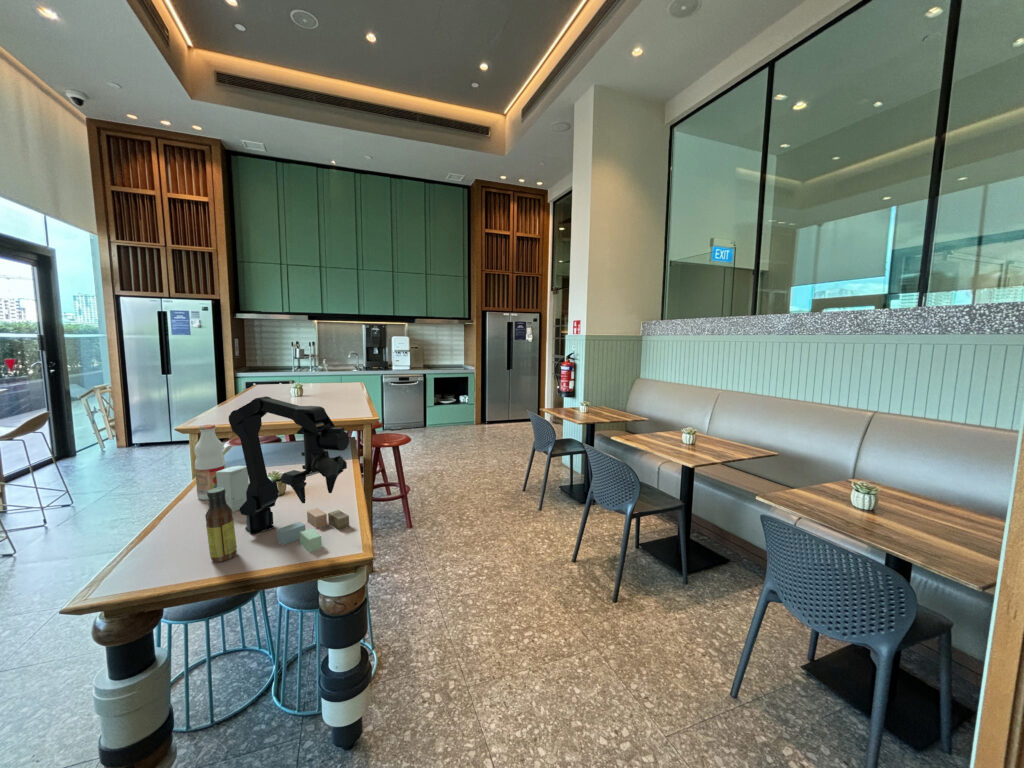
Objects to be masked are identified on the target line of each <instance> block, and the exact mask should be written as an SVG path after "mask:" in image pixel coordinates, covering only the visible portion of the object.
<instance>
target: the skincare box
mask: <svg viewBox="0 0 1024 768" xmlns="http://www.w3.org/2000/svg"><path fill="white" fill-rule="evenodd" d="M216 476H217V488H225V492H226V493H225V500H226V503H227V505H228V506H229V507H230V508H231V509H232V514H233V513H235V512H237V511H240V507H241V506H242V505H243V504H244V503H245V502H246V501H247V497H246V491H247V488H248V486H249V483H250V481H249V476H248V472H247V467H246V465H233V466H229V467H225V469H223V470H220V471H217V472H216Z"/></svg>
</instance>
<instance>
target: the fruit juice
mask: <svg viewBox="0 0 1024 768" xmlns="http://www.w3.org/2000/svg"><path fill="white" fill-rule="evenodd" d="M215 430H216V425H215V424H203V425H200V426H199V431H200V437H199V440H198V442H197V443H196V444H195V445H194V449H193V450H194V452H193V453H194V454H195V456H196V458H195V461H194V469H195V481H196V483H195V484H196V496H197V498H198V500H201V501H209V498H208V496H207V492H208V491H209V490H211V489H214V488H217V476H216V472H217V471H220V470H223V469H226V459H225V455H223V453H224V452H223V451H224V449H225V448H224V444H223V442H222V441H221V440H220V439H219V438H218V435H217V433H216V431H215Z"/></svg>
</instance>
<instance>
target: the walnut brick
mask: <svg viewBox="0 0 1024 768" xmlns="http://www.w3.org/2000/svg"><path fill="white" fill-rule="evenodd" d="M327 517H328V518H327V519H328V521H327V522H328V525H329V526H330V527H332V528H334V529H336V530H337V531H342V530H345V529H348V528H349V527H350V515H349V514H347V513H345V512H343V511H342V510H340V509H337V510H334V511H331V512H328V513H327Z"/></svg>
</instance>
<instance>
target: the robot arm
mask: <svg viewBox="0 0 1024 768" xmlns="http://www.w3.org/2000/svg"><path fill="white" fill-rule="evenodd" d="M267 413H268V414H272V415H276V416H279V417H282V418H284V419H285V418H286V419H290V420H292V421H293V422H294V424H296V425H297V426H299V427H301V428H299V430H297V431H296V434H297V435H302V436H303V437H302V438H303V451H302V452H301V456H302V457H304V464H303V465H302V470H303V471H301V470H297V469H296V470H295V469H293V470H289V471H287V472H283V473H282V474H281V477H280V481H281V484H285V485H287V486H290V487H291V488H292V489H293V491H294V493H295V494H296V496H297V497H298V499H299V501H300V502H301V504H305V503H306V488H305V487H306V486H307V482H305V481H306V479H307V477H311V476H314V475H317V474H320V475H321V476H322V477H324V478H325V484H326V489H327V492H328V494H332V493H333V490H334V487H335V484H336V480H337V478H338V476H339V475H340V474H342V473H343V472H344V470H346V469H348V465H347V461H346V460H345V459H344V457H343V456H341V455H337V456H333V457H330V453H329V451H342V452H343V451H345V450H346V449H348V446H349V444H350V436H349V434H348V433H347V431H345V427H343V426H341V427H336V425H335V423H334V422H333V421H332V419H331V418H330V416H329V415H328V413H327V411H326V409H325V408H324V407H323V406H319V405H318V406H317V405H297V404H294V403H290V402H286V401H283V400H279V399H275V398H272V397H270V396H261V397H256V398H254V399H252V400H250V402H249V403H246V404H244V405H243V406H241V407H239V408H238V409H234V410H232V411H231V412H230V413H229V415H228V423H229V426H230V428H231V430H232V432H233V433H234V434H235V435H236V436H237V437H238V438H239V440H240V445H241V448H242V454H243V458H244V463H245V466H246V467H247V472H248V479H249V486H248V488H247V491H246V497H247V501H246V502H245V503H244V504H243V505H242V506H241V507H240V509H239V511H240V514H241V515H242V516H245V518H246V526H245V528H244V529H245V530H246V531H247V532H248V533H249V534H250V535H255V534H258V533H262V532H265V531H267V530H272V529H274V528H275V526H274V513H273V511H272V509H271V508H273V507H276V502H277V499H278V498H279V493H280V490H279V489H278V488H279V487H278V483H277V481H276V480H274V481H272V480H271V478H269V477H268V473H267V469H266V468H267V467H266V464H265V459H264V454H263V449H262V444H261V441H260V437H259V433H260V430H261V428H262V418H263V417H264V416H266V415H267ZM328 450H329V451H328Z"/></svg>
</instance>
